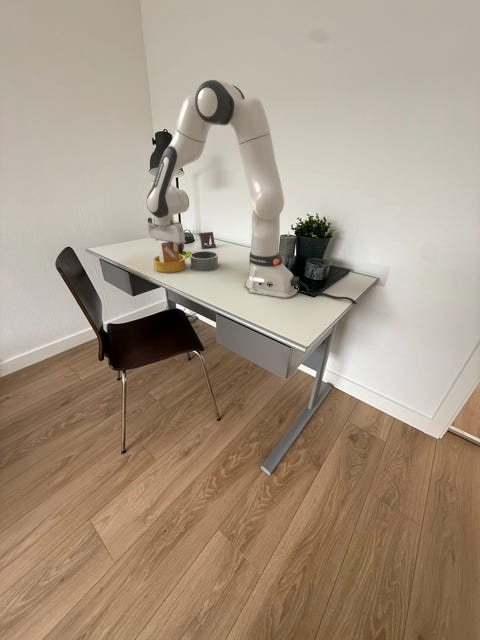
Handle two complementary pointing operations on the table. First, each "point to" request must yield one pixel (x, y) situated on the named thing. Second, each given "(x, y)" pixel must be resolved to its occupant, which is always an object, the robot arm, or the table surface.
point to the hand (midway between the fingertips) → (168, 249)
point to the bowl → (169, 265)
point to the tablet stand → (207, 239)
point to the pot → (204, 260)
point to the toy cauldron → (181, 252)
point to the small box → (167, 252)
